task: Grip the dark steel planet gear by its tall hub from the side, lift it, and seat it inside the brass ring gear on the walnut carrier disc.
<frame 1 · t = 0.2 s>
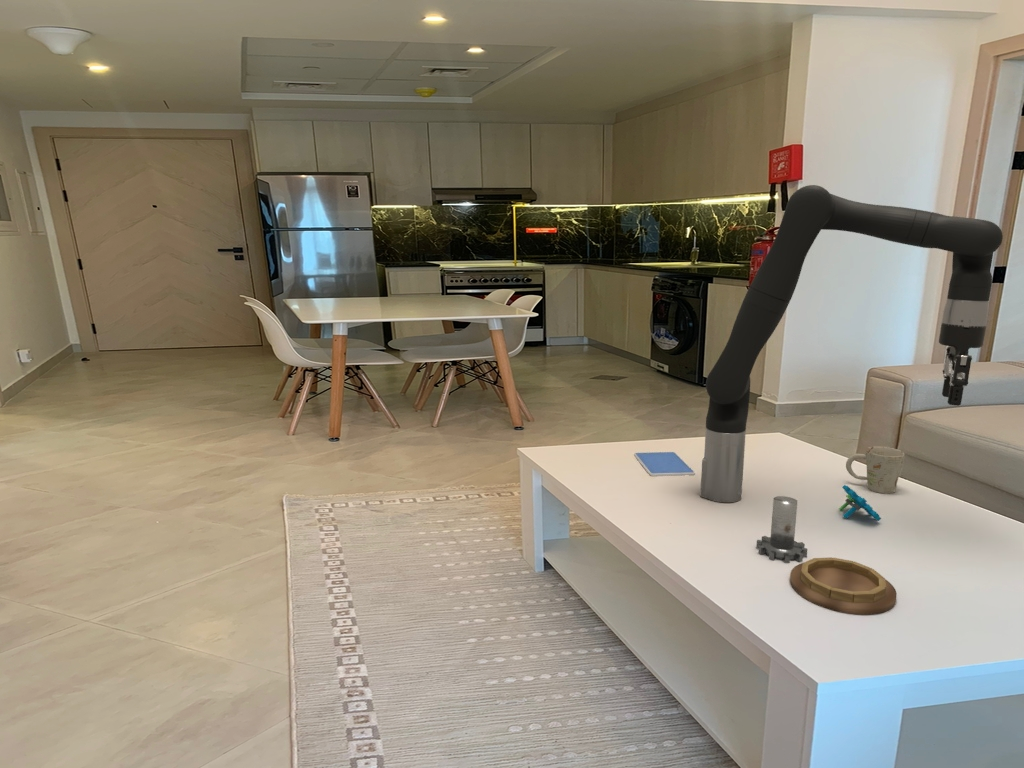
hand: (950, 400, 137), 29 cm above the table, tool pointing down, fingers open, 8 cm apart
blue flat plate: (663, 466, 187), on the table
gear: (858, 518, 150), on the table
carrier disc: (841, 588, 119), on the table
mug: (871, 488, 168), on the table
planet gear: (781, 551, 133), on the table
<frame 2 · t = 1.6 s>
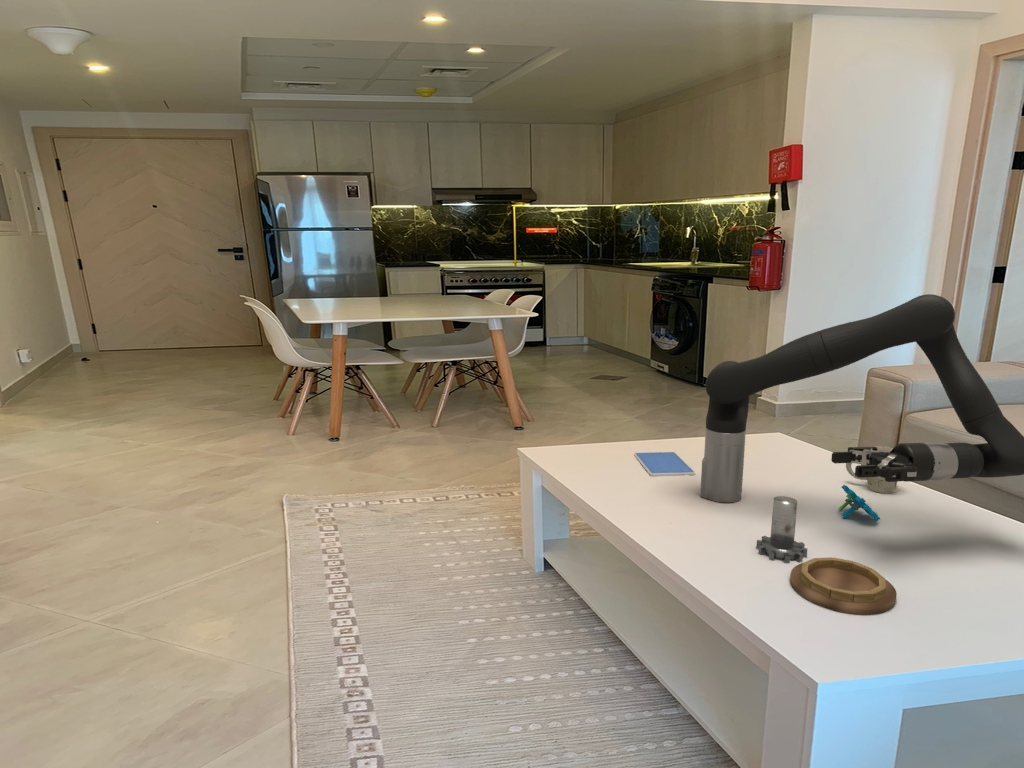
hand: (843, 464, 130), 18 cm above the table, tool horizontal, fingers open, 8 cm apart
nothing on the table moved.
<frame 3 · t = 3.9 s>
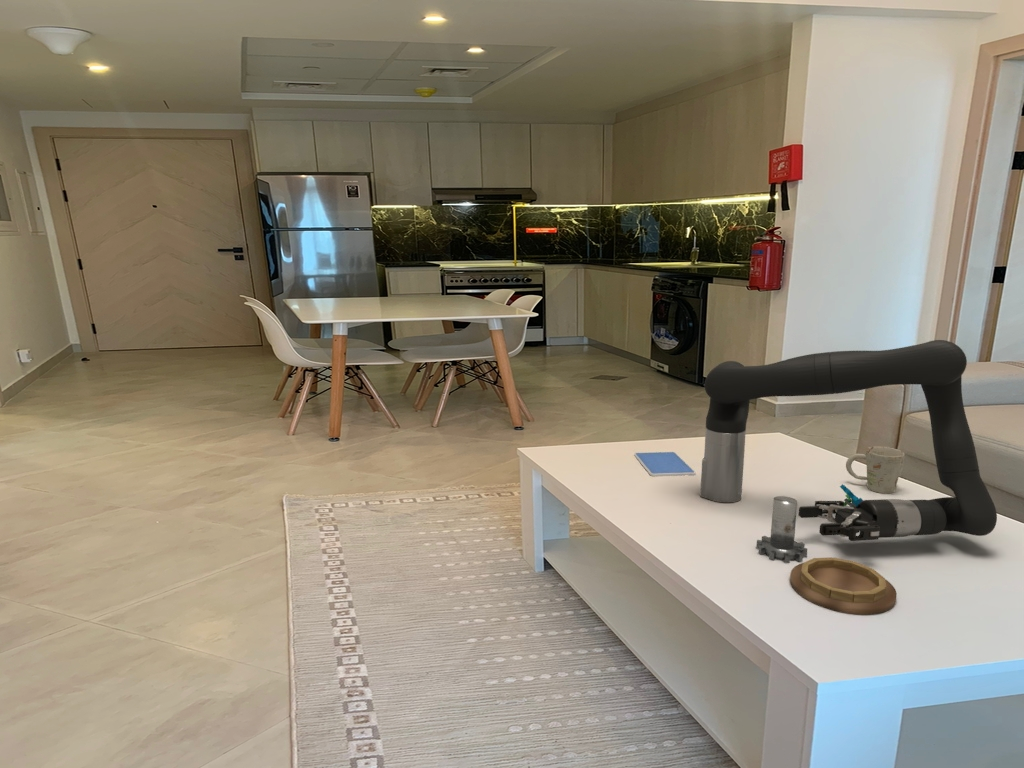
hand: (809, 520, 132), 6 cm above the table, tool horizontal, fingers open, 8 cm apart
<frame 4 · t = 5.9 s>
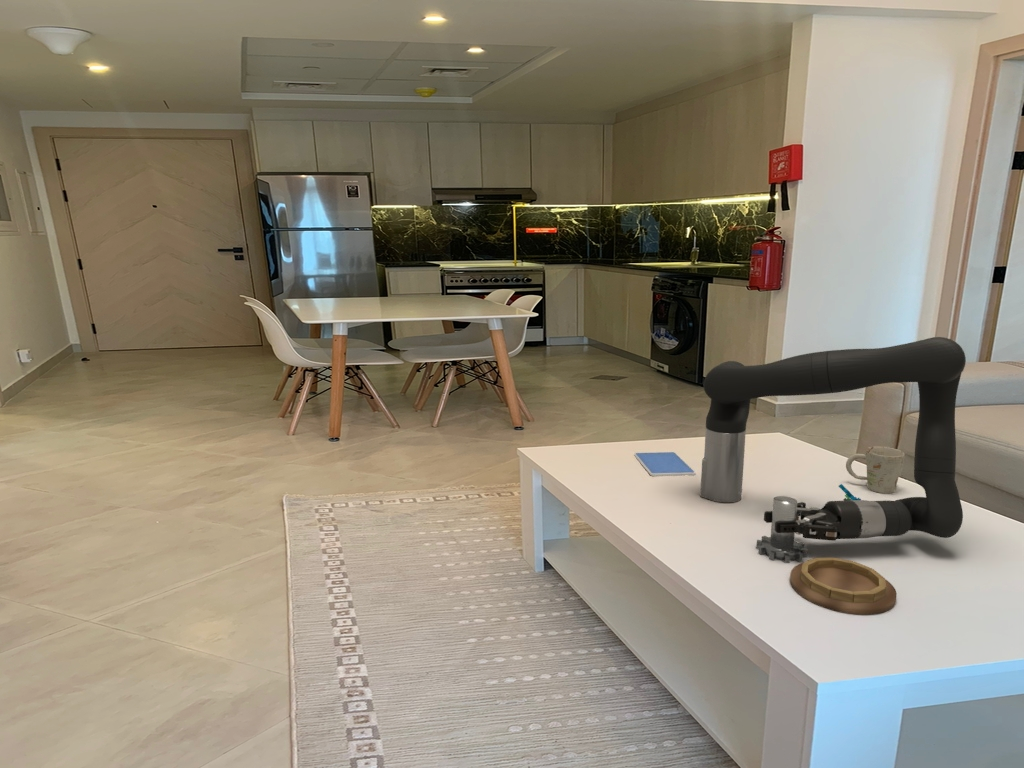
hand: (770, 522, 132), 6 cm above the table, tool horizontal, fingers closed on planet gear, 4 cm apart
planet gear: (781, 551, 133), on the table, touching gripper
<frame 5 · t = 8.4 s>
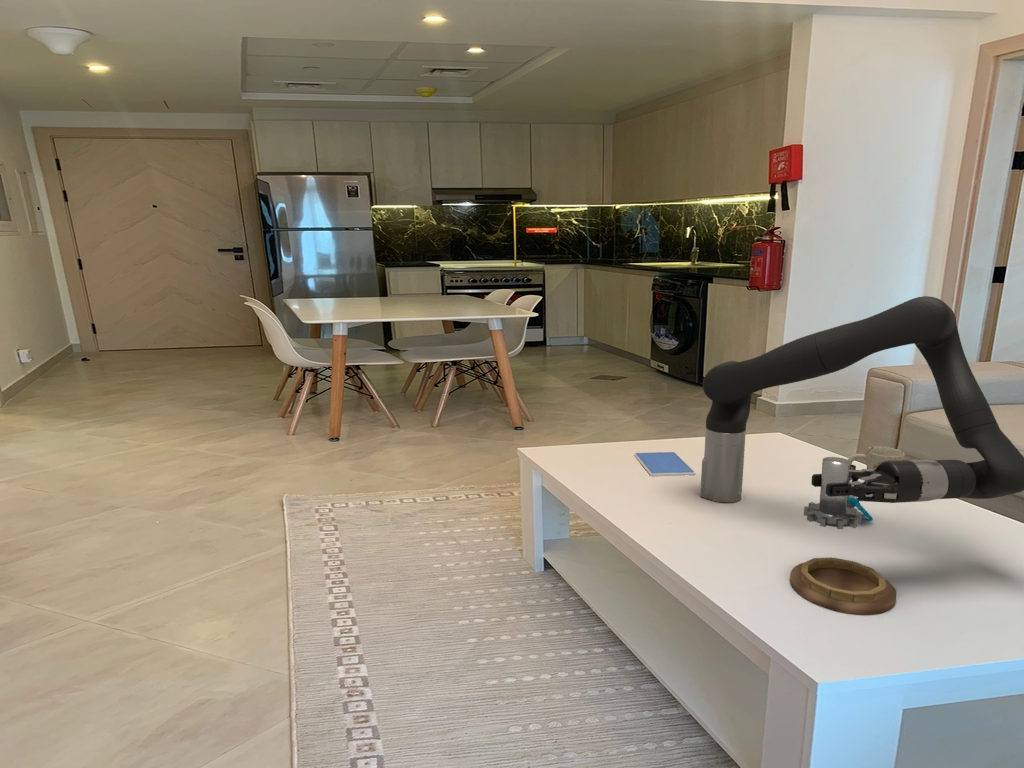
hand: (820, 485, 119), 18 cm above the table, tool horizontal, fingers closed on planet gear, 4 cm apart
planet gear: (831, 518, 120), point 12 cm above the table, touching gripper
when the fingers open (9 cm above the table, at t = 11.2 s): planet gear drops 2 cm, resting on carrier disc.
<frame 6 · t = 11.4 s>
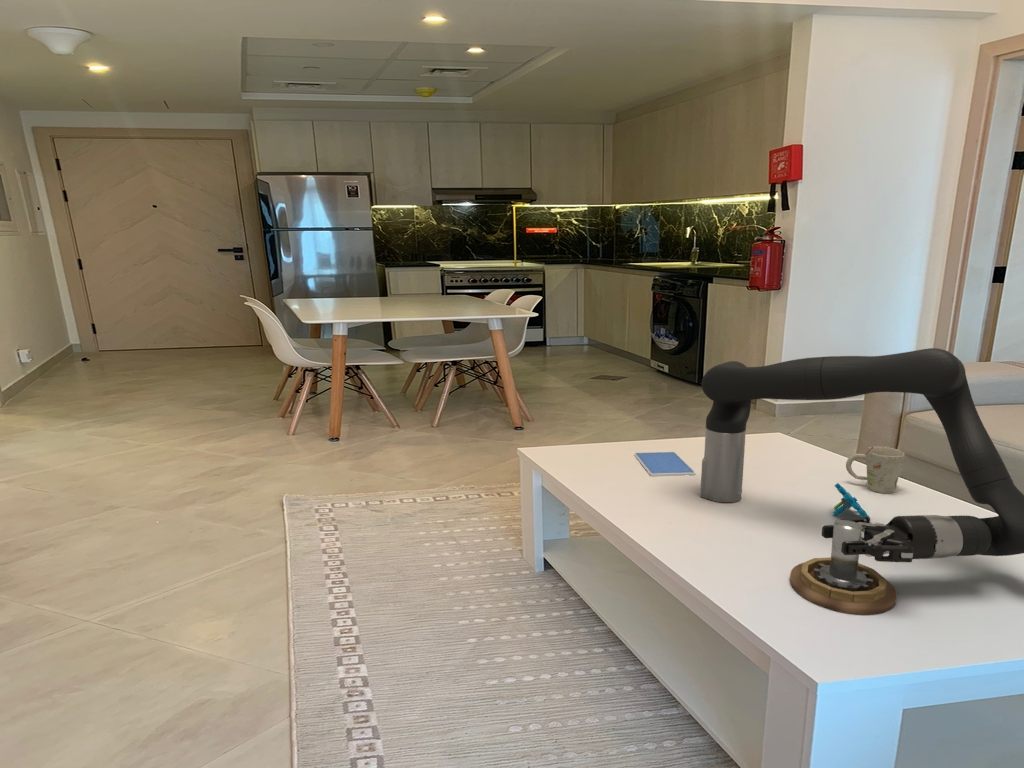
hand: (832, 539, 117), 10 cm above the table, tool horizontal, fingers open, 6 cm apart
planet gear: (842, 582, 118), point 1 cm above the table, touching carrier disc
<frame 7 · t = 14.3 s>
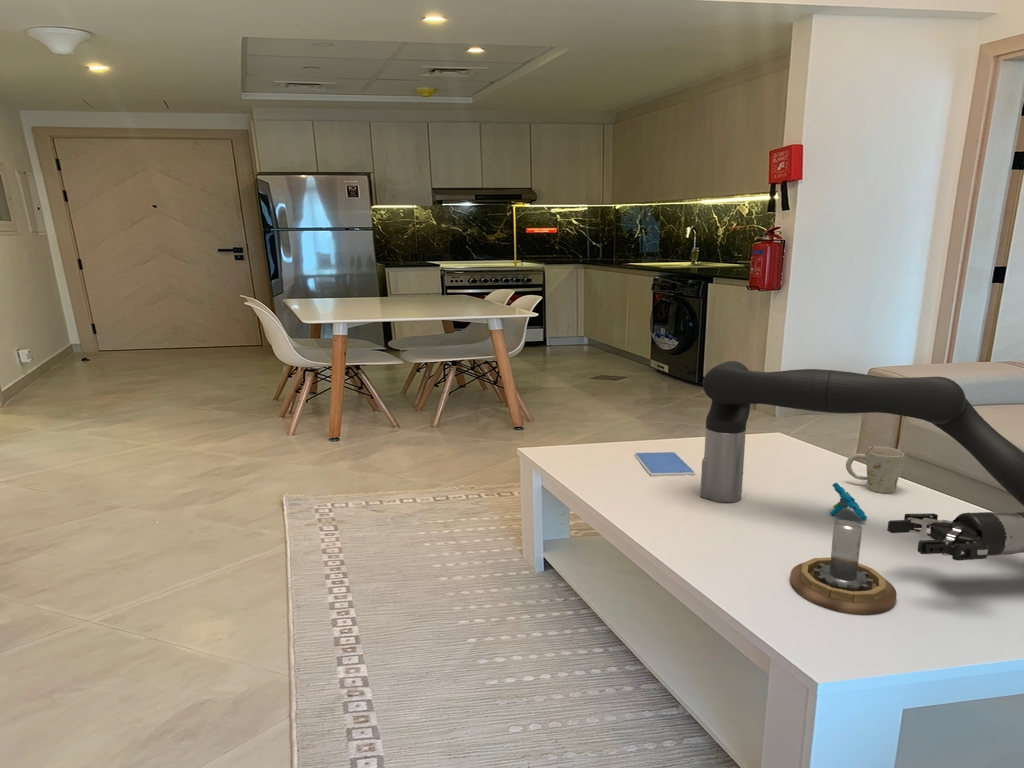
hand: (903, 536, 117), 10 cm above the table, tool horizontal, fingers open, 8 cm apart
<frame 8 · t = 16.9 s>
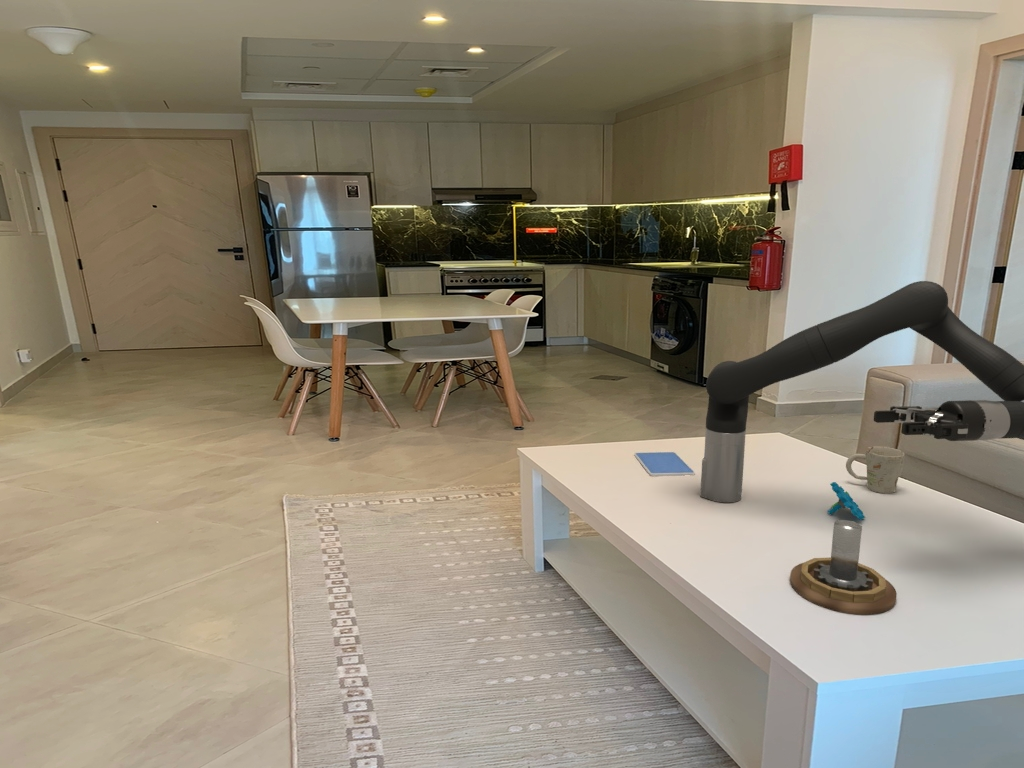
hand: (888, 422, 123), 28 cm above the table, tool horizontal, fingers open, 8 cm apart
at the end: planet gear 0.1 cm off-centre on the carrier disc, point 1.2 cm above the carrier disc's base; planet gear tilted 0°; the gripper is holding nothing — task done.
